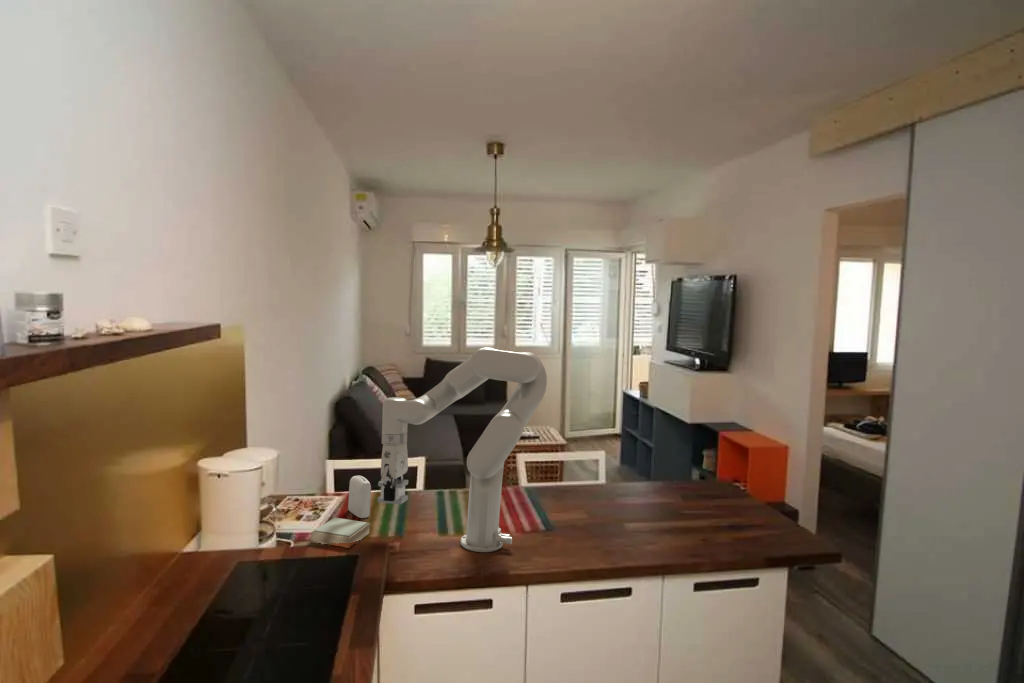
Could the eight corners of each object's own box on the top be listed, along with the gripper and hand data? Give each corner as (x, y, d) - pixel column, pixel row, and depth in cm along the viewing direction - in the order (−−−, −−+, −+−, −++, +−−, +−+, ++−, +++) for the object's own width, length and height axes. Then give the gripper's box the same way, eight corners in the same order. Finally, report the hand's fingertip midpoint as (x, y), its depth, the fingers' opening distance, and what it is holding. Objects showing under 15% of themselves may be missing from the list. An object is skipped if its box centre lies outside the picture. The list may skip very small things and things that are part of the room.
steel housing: (407, 499, 163) (408, 480, 163) (401, 504, 158) (401, 484, 158) (384, 497, 164) (385, 478, 164) (377, 502, 159) (378, 482, 159)
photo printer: (346, 509, 179) (348, 473, 179) (358, 507, 182) (360, 472, 181) (358, 519, 171) (361, 481, 171) (371, 517, 174) (373, 480, 173)
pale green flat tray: (369, 533, 160) (369, 522, 160) (349, 548, 149) (350, 536, 149) (333, 527, 163) (334, 516, 163) (310, 542, 151) (311, 530, 151)
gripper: (394, 444, 152) (392, 507, 152) (416, 434, 168) (415, 491, 169) (370, 443, 153) (368, 505, 153) (394, 432, 170) (393, 489, 170)
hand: (392, 497), depth 161 cm, fingers closed on steel housing, 5 cm apart
